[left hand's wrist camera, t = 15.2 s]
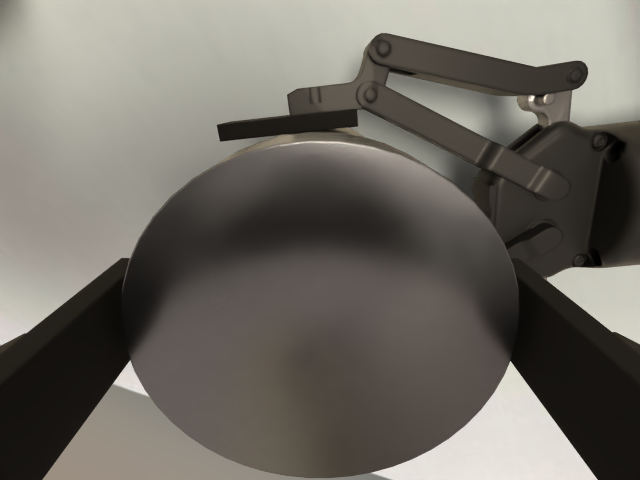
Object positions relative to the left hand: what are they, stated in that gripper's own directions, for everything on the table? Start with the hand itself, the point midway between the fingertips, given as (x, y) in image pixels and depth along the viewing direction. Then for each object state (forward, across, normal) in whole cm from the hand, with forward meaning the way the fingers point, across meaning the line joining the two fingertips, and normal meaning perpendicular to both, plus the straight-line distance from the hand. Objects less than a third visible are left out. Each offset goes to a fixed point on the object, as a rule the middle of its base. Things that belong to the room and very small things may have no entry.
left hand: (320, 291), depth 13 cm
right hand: (+7, -4, 0) cm, 9 cm away
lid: (-3, 0, 0) cm, 3 cm away
